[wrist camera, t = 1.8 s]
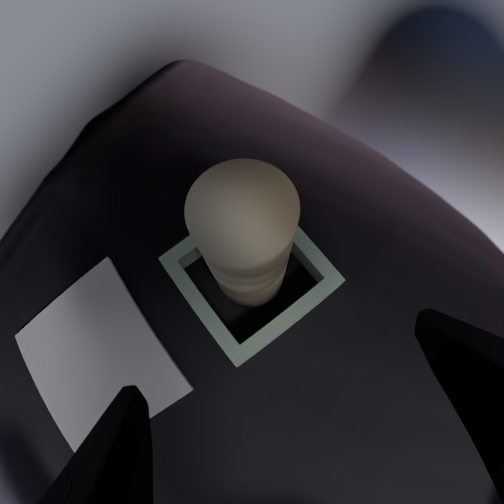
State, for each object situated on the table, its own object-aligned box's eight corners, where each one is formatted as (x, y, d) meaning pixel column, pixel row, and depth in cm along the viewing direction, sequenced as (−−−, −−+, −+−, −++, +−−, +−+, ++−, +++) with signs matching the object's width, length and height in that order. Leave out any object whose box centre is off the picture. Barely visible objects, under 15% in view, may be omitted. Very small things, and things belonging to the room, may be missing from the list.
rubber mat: (82, 458, 18) (79, 460, 17) (18, 336, 21) (14, 335, 21) (194, 389, 20) (192, 389, 19) (110, 258, 23) (107, 256, 23)
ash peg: (244, 321, 21) (228, 286, 11) (207, 272, 23) (163, 199, 12) (295, 282, 22) (323, 214, 12) (256, 236, 23) (252, 141, 13)
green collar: (238, 366, 20) (236, 367, 18) (166, 266, 23) (158, 258, 21) (338, 286, 22) (345, 280, 20) (261, 198, 24) (261, 185, 23)
